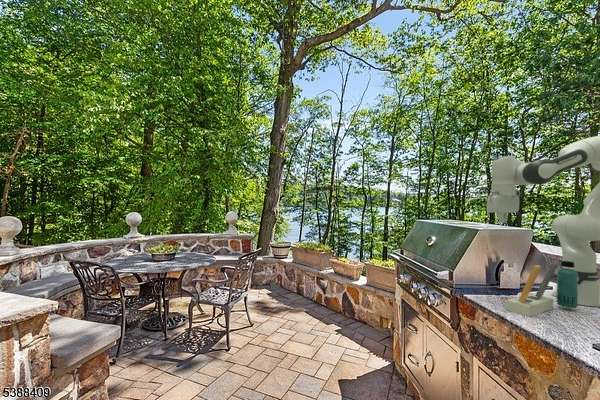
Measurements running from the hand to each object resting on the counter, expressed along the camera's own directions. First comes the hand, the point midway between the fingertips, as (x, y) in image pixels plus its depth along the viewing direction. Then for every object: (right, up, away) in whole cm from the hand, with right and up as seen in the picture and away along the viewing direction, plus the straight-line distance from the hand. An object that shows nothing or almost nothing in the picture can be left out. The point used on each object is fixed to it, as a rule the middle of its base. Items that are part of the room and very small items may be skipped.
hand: (502, 222), depth 129 cm
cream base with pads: (+4, -35, -10) cm, 37 cm away
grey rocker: (+10, -31, -7) cm, 34 cm away
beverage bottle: (+20, -36, -9) cm, 42 cm away
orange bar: (-2, -31, -13) cm, 34 cm away
